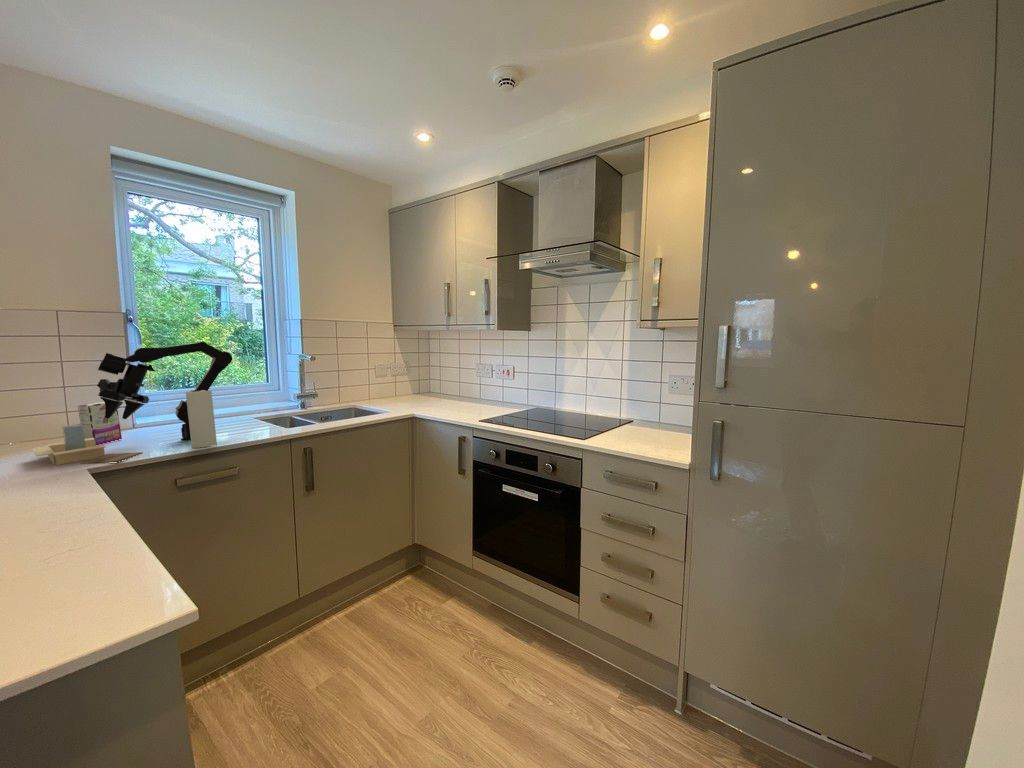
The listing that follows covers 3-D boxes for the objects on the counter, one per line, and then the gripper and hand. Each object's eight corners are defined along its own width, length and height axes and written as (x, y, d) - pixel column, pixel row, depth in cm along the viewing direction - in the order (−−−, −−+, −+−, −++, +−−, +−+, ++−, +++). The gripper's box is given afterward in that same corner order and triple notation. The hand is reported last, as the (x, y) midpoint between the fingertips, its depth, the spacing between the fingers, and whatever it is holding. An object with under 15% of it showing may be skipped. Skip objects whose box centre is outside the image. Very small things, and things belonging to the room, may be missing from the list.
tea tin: (84, 454, 149) (80, 424, 148) (87, 456, 146) (82, 425, 145) (66, 457, 145) (61, 426, 144) (68, 459, 143) (63, 427, 141)
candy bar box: (110, 440, 173) (105, 400, 171) (122, 439, 172) (117, 400, 171) (82, 447, 161) (76, 405, 160) (95, 447, 161) (89, 405, 160)
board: (142, 454, 149) (142, 452, 149) (118, 463, 138) (118, 461, 138) (108, 456, 148) (108, 453, 148) (80, 465, 137) (80, 462, 137)
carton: (116, 445, 162) (114, 434, 162) (130, 454, 148) (128, 442, 148) (32, 459, 145) (30, 446, 145) (39, 471, 131) (37, 457, 131)
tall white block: (187, 447, 157) (181, 391, 155) (204, 443, 163) (199, 389, 160) (200, 449, 154) (194, 391, 152) (217, 445, 160) (211, 389, 158)
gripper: (126, 375, 166) (109, 413, 163) (91, 369, 148) (71, 411, 145) (156, 384, 168) (140, 421, 166) (126, 378, 150) (107, 420, 148)
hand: (115, 418), depth 156 cm, fingers open, 9 cm apart
